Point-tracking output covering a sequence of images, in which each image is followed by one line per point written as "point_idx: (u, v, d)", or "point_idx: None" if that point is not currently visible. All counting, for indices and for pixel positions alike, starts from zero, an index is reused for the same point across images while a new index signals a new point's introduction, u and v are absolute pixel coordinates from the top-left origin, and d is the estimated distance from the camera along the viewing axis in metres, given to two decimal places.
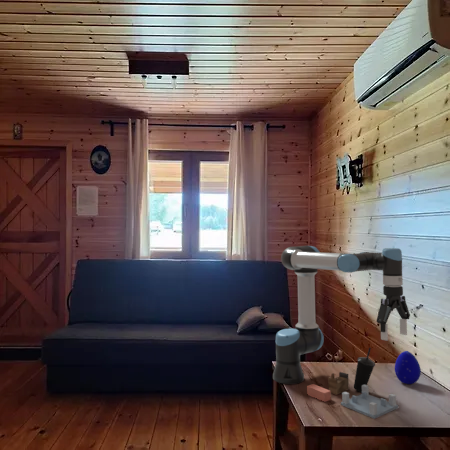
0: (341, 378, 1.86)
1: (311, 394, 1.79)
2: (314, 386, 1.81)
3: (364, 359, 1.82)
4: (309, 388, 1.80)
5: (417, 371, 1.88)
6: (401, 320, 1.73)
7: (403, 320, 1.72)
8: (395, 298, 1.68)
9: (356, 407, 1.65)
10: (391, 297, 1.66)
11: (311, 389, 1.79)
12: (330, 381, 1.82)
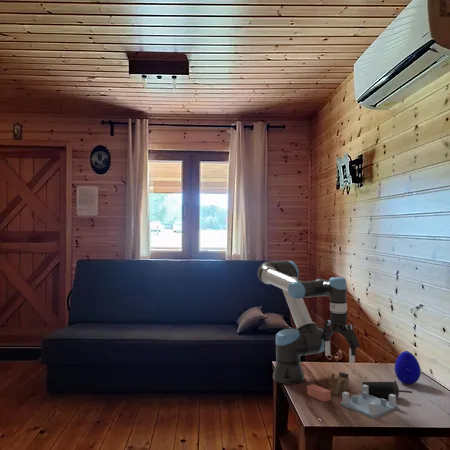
0: (341, 378, 1.86)
1: (311, 394, 1.79)
2: (314, 386, 1.81)
3: (397, 393, 1.73)
4: (309, 388, 1.80)
5: (417, 371, 1.88)
6: None
7: None
8: (336, 323, 1.85)
9: (356, 407, 1.65)
10: (332, 320, 1.87)
11: (311, 389, 1.79)
12: (330, 381, 1.82)
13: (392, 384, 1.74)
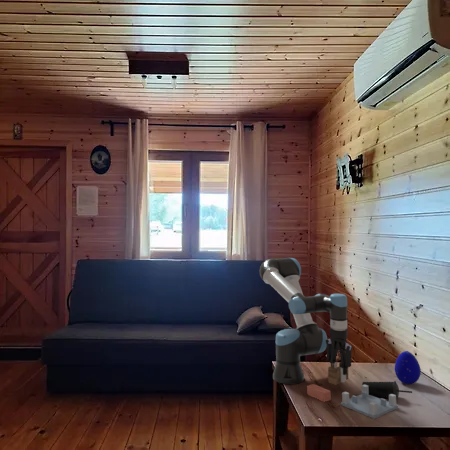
0: None
1: (311, 394, 1.79)
2: (314, 386, 1.81)
3: (397, 393, 1.73)
4: (309, 388, 1.80)
5: (417, 371, 1.88)
6: None
7: None
8: (336, 340, 1.85)
9: (356, 407, 1.65)
10: (331, 336, 1.88)
11: (311, 389, 1.79)
12: (330, 371, 1.83)
13: (392, 384, 1.74)
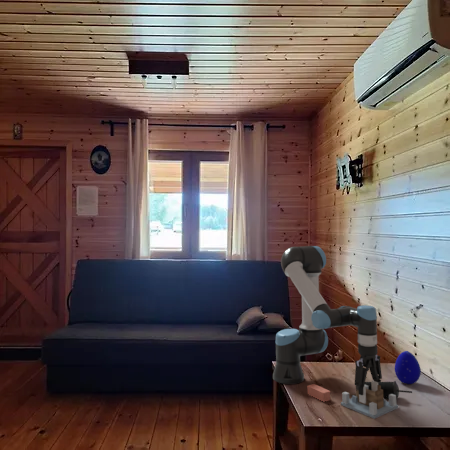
0: None
1: (311, 394, 1.79)
2: (314, 385, 1.81)
3: (397, 393, 1.73)
4: (309, 388, 1.80)
5: (417, 371, 1.88)
6: (373, 382, 1.71)
7: (375, 383, 1.70)
8: (370, 357, 1.67)
9: (356, 407, 1.65)
10: (365, 357, 1.65)
11: (311, 389, 1.79)
12: (379, 395, 1.63)
13: (392, 384, 1.74)
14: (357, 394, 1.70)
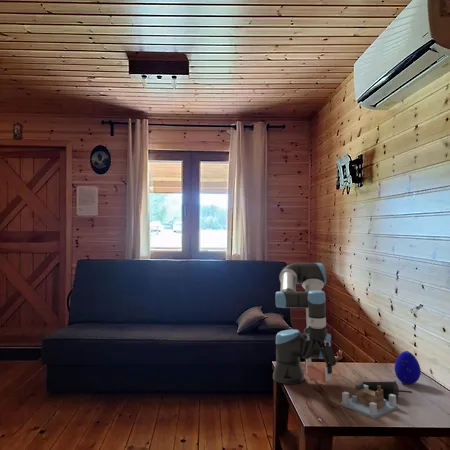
0: (364, 390, 1.69)
1: (311, 374, 1.80)
2: (314, 366, 1.82)
3: (397, 393, 1.73)
4: (309, 368, 1.81)
5: (417, 371, 1.88)
6: None
7: None
8: (315, 338, 1.78)
9: (356, 407, 1.65)
10: None
11: (311, 369, 1.80)
12: (379, 395, 1.63)
13: (392, 384, 1.74)
14: (357, 394, 1.70)
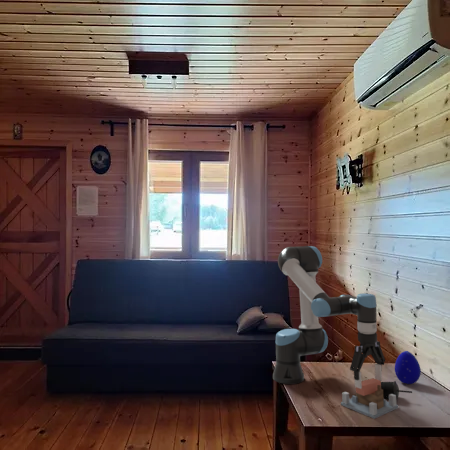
0: None
1: (368, 391, 1.65)
2: (362, 382, 1.67)
3: (397, 393, 1.73)
4: (366, 386, 1.64)
5: (417, 371, 1.88)
6: (376, 365, 1.72)
7: (378, 366, 1.71)
8: (369, 345, 1.67)
9: (356, 407, 1.65)
10: (365, 344, 1.66)
11: (368, 386, 1.65)
12: (379, 395, 1.63)
13: (392, 384, 1.74)
14: (357, 394, 1.70)
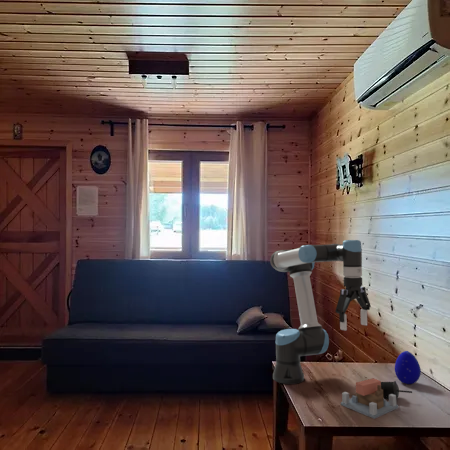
0: None
1: (368, 391, 1.65)
2: (362, 382, 1.67)
3: (397, 393, 1.73)
4: (366, 386, 1.64)
5: (417, 371, 1.88)
6: (362, 311, 1.75)
7: (363, 311, 1.75)
8: (355, 289, 1.71)
9: (356, 407, 1.65)
10: (350, 288, 1.69)
11: (368, 386, 1.65)
12: (379, 395, 1.63)
13: (392, 384, 1.74)
14: (357, 394, 1.70)
